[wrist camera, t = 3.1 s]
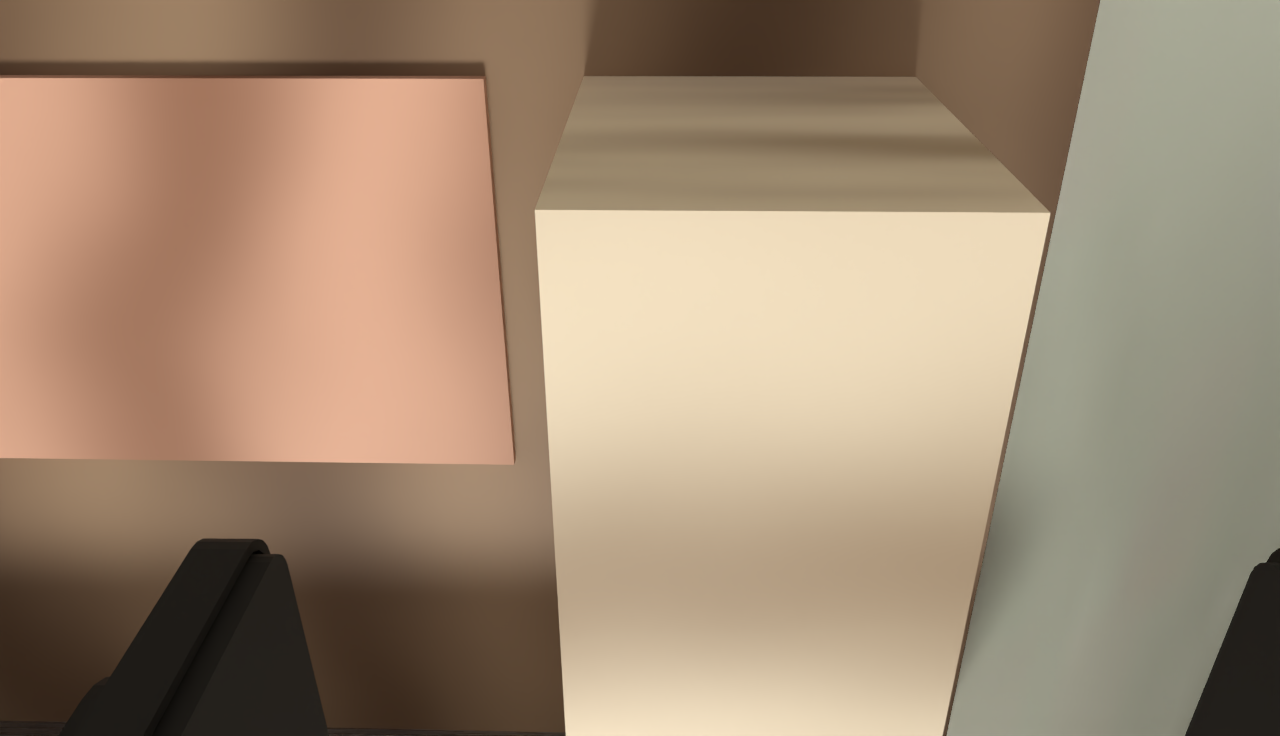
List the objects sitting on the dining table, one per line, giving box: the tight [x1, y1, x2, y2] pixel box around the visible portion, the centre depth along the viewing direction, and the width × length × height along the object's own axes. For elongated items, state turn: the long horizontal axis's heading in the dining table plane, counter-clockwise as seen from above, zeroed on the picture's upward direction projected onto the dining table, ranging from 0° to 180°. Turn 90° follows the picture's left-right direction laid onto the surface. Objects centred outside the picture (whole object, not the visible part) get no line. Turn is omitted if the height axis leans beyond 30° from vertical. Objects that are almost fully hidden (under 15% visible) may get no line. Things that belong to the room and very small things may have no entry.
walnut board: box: [0, 0, 1100, 736], centre depth 18 cm, size 24×20×1 cm
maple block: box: [535, 76, 1051, 736], centre depth 14 cm, size 9×5×6 cm, turn 0°
